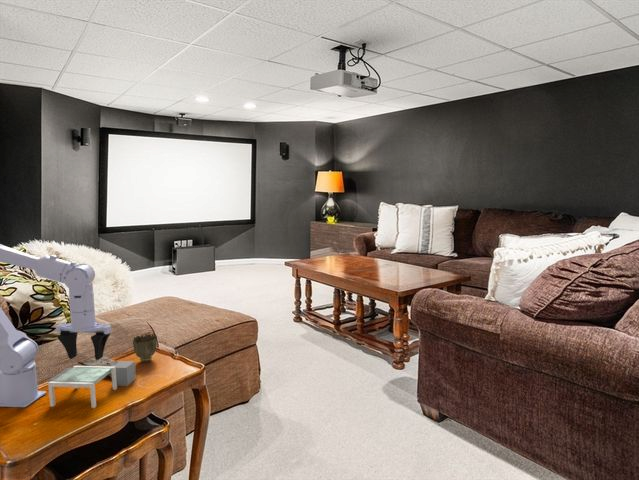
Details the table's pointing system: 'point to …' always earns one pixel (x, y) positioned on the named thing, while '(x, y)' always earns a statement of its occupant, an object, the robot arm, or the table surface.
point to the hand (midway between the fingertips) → (86, 358)
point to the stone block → (125, 372)
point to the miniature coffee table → (81, 385)
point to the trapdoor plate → (81, 375)
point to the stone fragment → (101, 362)
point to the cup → (145, 347)
